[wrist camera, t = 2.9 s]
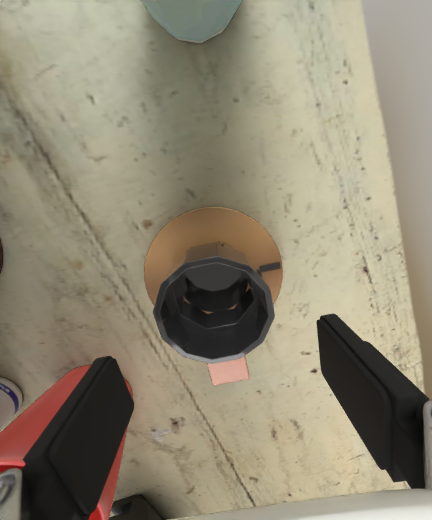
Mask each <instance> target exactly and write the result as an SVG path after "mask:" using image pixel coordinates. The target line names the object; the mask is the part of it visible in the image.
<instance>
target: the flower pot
mask: <svg viewBox="0 0 432 520" xmlns="http://www.w3.org/2000/svg"><path fill="white" fill-rule="evenodd" d="M90 366H91V365H85V366H80V367H78V368H75V369H73V370H71V371H70V372H68V373H67V374H66V375H65V376H64V377H62V378H61V379H60V380H59V381H58V382H56V383H55V384H54V385H53V386H52V387H51V388H50V389H48V390H47V391H46V392H45V393H44V394H43V395H41V396H40V397H39V398H38V399H37V400H36V401H35V402H34V403H32V404H31V405H30V406H29V407H28V408H27V409H26V410H25V411H24V412H23V413H22V414H21V415H19V416H18V417H17V418H16V419H15V420H14V421H13V422H12V423H11V424H10V425H8V426H7V427H6V428H5V429H4V430H3V431H2V432H1V433H0V473H2V472H3V471H6V470H8V469H11V468H18V469H20V470H22V468H23V467H24V466H25V462H24V461H23V458H24V457H25V455H26V454H27V453H28V451H29V450H30V449H31V447H32V446H33V444H34V443H35V442H36V440H37V439H38V438H39V436H40V435H41V433H42V432H43V431H44V429H45V428H46V427H47V425H48V424H49V422H50V421H51V420H52V418H53V417H54V416H55V414H56V413H57V412H58V410H59V409H60V407H61V406H62V405H63V403H64V402H65V401H66V399H67V398H68V396H69V395H70V394H71V392H72V391H73V390H74V388H75V387H76V385H77V384H78V383H79V381H80V380H81V379H82V377H83V376H84V375H85V373H86V372H87V370H88V369H89V368H90ZM124 380H125V379H124ZM125 382H126V385H127V387H128V390H129V392H130V394H131V397H132V390H131V387H130V385H129V383H128V382H127V381H126V380H125ZM126 432H127V428H126V431H125V434H124V436H123V439H122V442H121V444H120V447H119V449H118V452H117V455H116V457H115V460H114V463H113V465H112V468H111V471H110V473H109V476H108V479H107V481H106V484H105V486H104V489H103V492H102V494H101V497H100V500H99V502H98V505H97V507H96V509H95V511H94V512H93V513H91V515H90V517H89V520H109V516H110V512H111V507H112V503H113V498H114V493H115V489H116V484H117V479H118V474H119V468H120V463H121V458H122V453H123V448H124V443H125V437H126Z"/></svg>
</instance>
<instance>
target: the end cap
mask: <svg viewBox="0 0 432 520" xmlns="http://www.w3.org/2000/svg"><path fill="white" fill-rule="evenodd" d="M111 511H112V512H113V513H114V514H115V515H116V516H113V517H110V518H109V520H162V519H161V518H160V516H159V515H158V514H157V513H156V512H155V511H154V510H153V509H152V508H151V507H150V505H149V504H148V503H147V502H146V501H145V500H144V499H143V498H142V497H141V495H134V496H131V497H128V498H125V499H121V500H118V501H115V502H114V503H113V504H112V507H111Z"/></svg>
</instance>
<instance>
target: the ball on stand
mask: <svg viewBox="0 0 432 520" xmlns="http://www.w3.org/2000/svg"><path fill="white" fill-rule="evenodd" d="M2 265H3V249H2V245H1V240H0V273H1V269H2Z"/></svg>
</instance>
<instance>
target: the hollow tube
mask: <svg viewBox="0 0 432 520" xmlns="http://www.w3.org/2000/svg"><path fill="white" fill-rule="evenodd" d="M248 284H249V289H248V290H247V287H248ZM246 290H247V291H246ZM183 296H184V297H185V299H186V300H187V301H188V302H189V303H188V302H186V301H185V300H184V297H183ZM236 304H237V305H236ZM235 305H236V306H235ZM233 306H235V307H234V308H233V309H230V308H231V307H233ZM227 309H228V310H227ZM202 310H203V311H202ZM204 311H207V312H213V313H206V312H204ZM153 314H154V317H155V320H156V323H157V326H158V328H159V331H160V334H161V337H162V339H163V340H164V341H165V342H166V343H168V344H169V345H170V346H171V347H172V348H174V349H175V350H176V351H177V352H178V353H179V354H181V355H182V356H183V357H186V358H190V359H194V360H198V361H202V362H206V363H207V366H208V370H209V373H210V377H211V380H212V384H213V385H218V384H224V383H229V382H235V381H240V380H246V379H249V378H250V377H249V372H248V367H247V363H246V358H245V355H246V354H247V353H249V352H250V351H251V350H253V349H254V348H256V347H257V346H258V345H260V344H261V343H262V342H263V341H264V339H265V337H266V335H267V333H268V330H269V328H270V326H271V324H272V322H273V319H274V316H275V314H274V308H273V301H272V294H271V289H270V287H269V285H268V284H267V282H266V280H265V279H264V277H263V276H262V274H261V272H260V271H259V270H258V269H257V267H256V266H255V265H254V264H253V263H252V262H251V261H250V259H249V257H247V256H246V255H245V254H244V253H242V252H240V251H238V250H236V249H234V248H233V247H231V246H230V245H228V244H227V243H225V242H222V244H221V242H220V241H218V242H213V243H208V244H204V245H199V246H194V247H190V248H189V250H188V249H187V250H186V252H185V254H184V255H183V256H182V257H181V258H180V259H179V260H178V261H177V262H176V263H175V264H173V265H172V266H171V267H170V269H169V270H168V272H167V274H166V276H165V277H164V279H163V281H162V283H161V284H160V287H159V291H158V295H157V299H156V302H155V306H154V310H153Z"/></svg>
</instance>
